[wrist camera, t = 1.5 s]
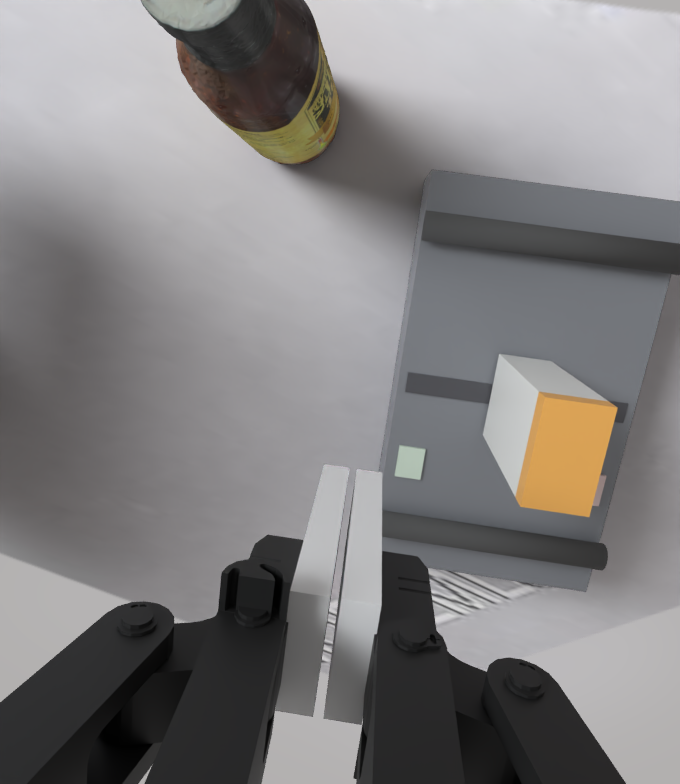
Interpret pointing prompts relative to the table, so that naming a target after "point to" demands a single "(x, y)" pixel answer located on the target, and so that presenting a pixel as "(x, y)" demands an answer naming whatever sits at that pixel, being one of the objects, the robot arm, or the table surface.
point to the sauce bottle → (257, 71)
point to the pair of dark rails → (546, 245)
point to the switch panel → (517, 338)
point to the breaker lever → (547, 434)
